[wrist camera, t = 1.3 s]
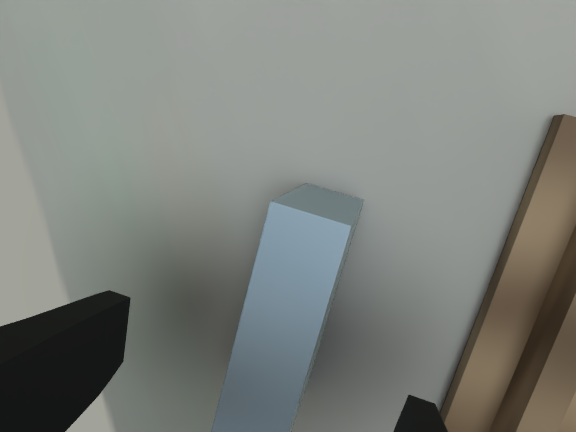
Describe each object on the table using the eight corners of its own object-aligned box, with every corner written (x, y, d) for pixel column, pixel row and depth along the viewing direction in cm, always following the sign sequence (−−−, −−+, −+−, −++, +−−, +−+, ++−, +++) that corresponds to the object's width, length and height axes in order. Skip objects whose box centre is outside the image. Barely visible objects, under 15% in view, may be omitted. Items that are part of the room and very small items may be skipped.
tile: (307, 385, 21) (274, 479, 15) (256, 366, 21) (206, 451, 15) (364, 199, 19) (351, 226, 13) (307, 182, 19) (270, 200, 14)
